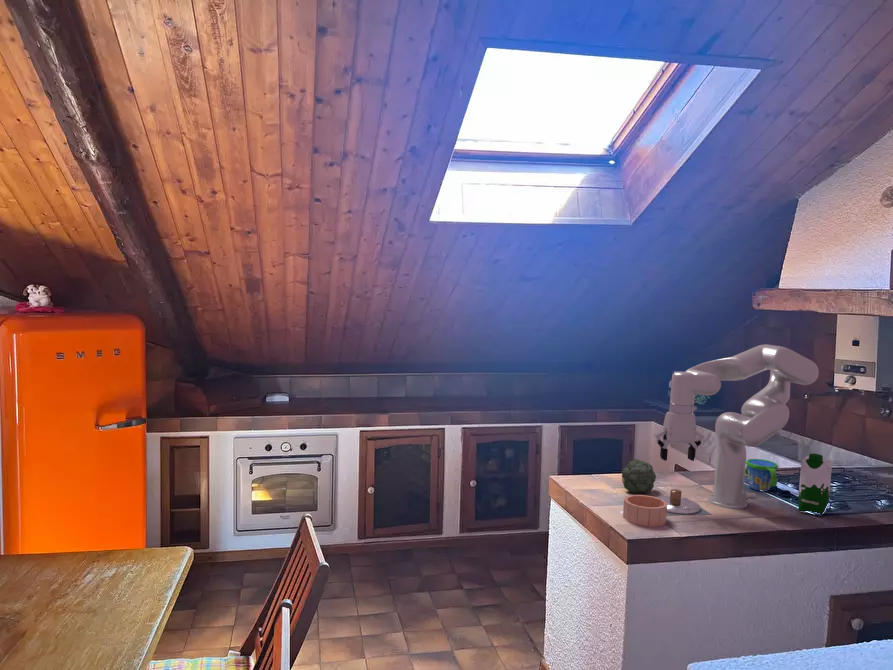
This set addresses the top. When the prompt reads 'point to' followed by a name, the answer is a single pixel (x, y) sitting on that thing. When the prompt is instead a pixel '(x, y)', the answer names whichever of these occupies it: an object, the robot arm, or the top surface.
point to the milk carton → (814, 483)
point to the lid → (680, 503)
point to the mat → (702, 512)
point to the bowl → (645, 510)
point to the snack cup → (761, 474)
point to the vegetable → (638, 476)
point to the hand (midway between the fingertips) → (677, 459)
